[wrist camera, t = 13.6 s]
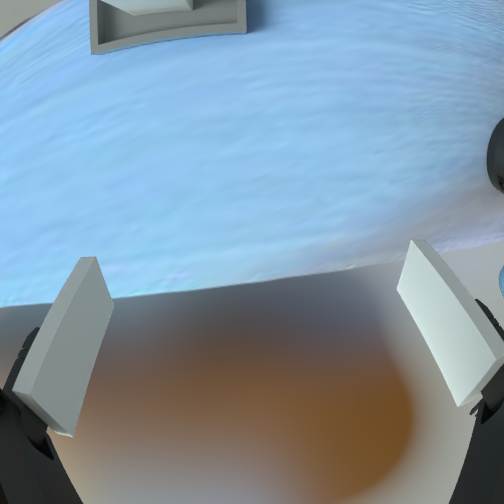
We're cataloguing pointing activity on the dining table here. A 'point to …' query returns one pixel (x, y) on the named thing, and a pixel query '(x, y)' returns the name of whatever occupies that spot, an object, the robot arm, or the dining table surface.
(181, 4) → the supplement box
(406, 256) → the robot arm
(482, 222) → the dining table surface
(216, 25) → the tray
